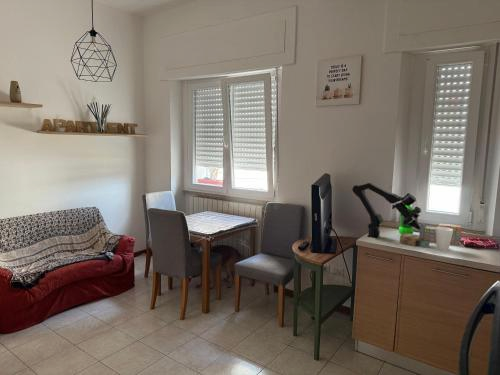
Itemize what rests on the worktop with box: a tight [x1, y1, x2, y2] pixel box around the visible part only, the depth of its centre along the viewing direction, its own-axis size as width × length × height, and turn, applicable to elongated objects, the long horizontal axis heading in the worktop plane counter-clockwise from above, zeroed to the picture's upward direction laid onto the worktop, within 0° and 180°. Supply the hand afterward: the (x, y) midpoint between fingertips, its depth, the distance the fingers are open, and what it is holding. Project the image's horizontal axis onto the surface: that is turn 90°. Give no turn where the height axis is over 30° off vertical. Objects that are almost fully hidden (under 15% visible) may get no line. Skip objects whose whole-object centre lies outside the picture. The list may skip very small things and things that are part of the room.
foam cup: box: [435, 226, 453, 252], centre depth 214 cm, size 10×9×13 cm
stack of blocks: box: [424, 223, 463, 246], centre depth 230 cm, size 21×6×12 cm, turn 68°
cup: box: [418, 239, 431, 248], centre depth 221 cm, size 6×6×4 cm
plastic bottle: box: [398, 205, 414, 236], centre depth 245 cm, size 10×10×25 cm
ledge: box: [399, 233, 425, 247], centre depth 225 cm, size 12×10×5 cm
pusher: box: [418, 222, 427, 239], centre depth 221 cm, size 2×6×9 cm, turn 141°
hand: (420, 229), depth 222 cm, fingers closed, pressing on pusher
